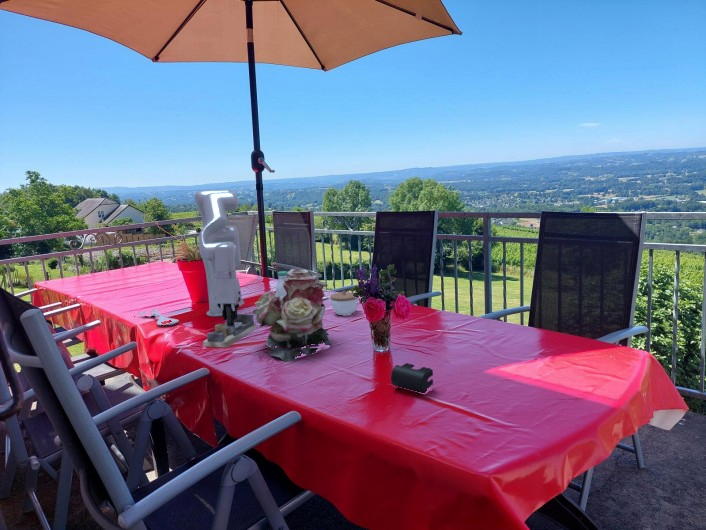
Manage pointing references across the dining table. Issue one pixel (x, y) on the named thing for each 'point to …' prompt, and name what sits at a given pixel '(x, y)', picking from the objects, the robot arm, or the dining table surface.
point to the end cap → (411, 377)
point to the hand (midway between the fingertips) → (230, 319)
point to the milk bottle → (281, 283)
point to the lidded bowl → (344, 303)
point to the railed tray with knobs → (220, 341)
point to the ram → (230, 324)
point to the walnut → (221, 329)
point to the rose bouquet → (294, 315)
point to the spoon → (161, 318)
